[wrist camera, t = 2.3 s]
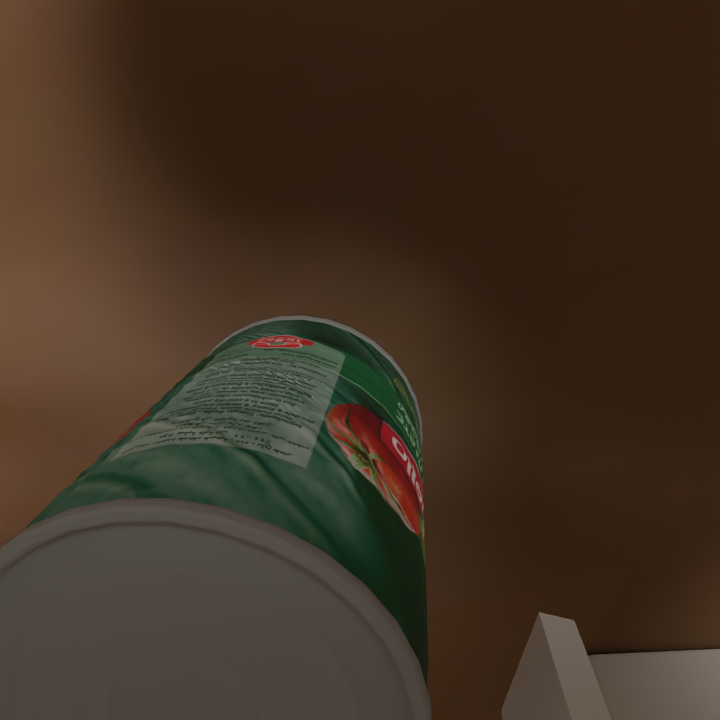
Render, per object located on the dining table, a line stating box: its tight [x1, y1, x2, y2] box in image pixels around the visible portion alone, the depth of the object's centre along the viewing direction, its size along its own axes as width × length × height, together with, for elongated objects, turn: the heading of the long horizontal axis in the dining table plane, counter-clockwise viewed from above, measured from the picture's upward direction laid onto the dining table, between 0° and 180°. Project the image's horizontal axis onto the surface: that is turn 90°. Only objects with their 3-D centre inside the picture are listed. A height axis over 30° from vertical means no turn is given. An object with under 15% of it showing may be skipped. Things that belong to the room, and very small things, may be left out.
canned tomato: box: [0, 315, 432, 720], centre depth 15 cm, size 8×8×11 cm
